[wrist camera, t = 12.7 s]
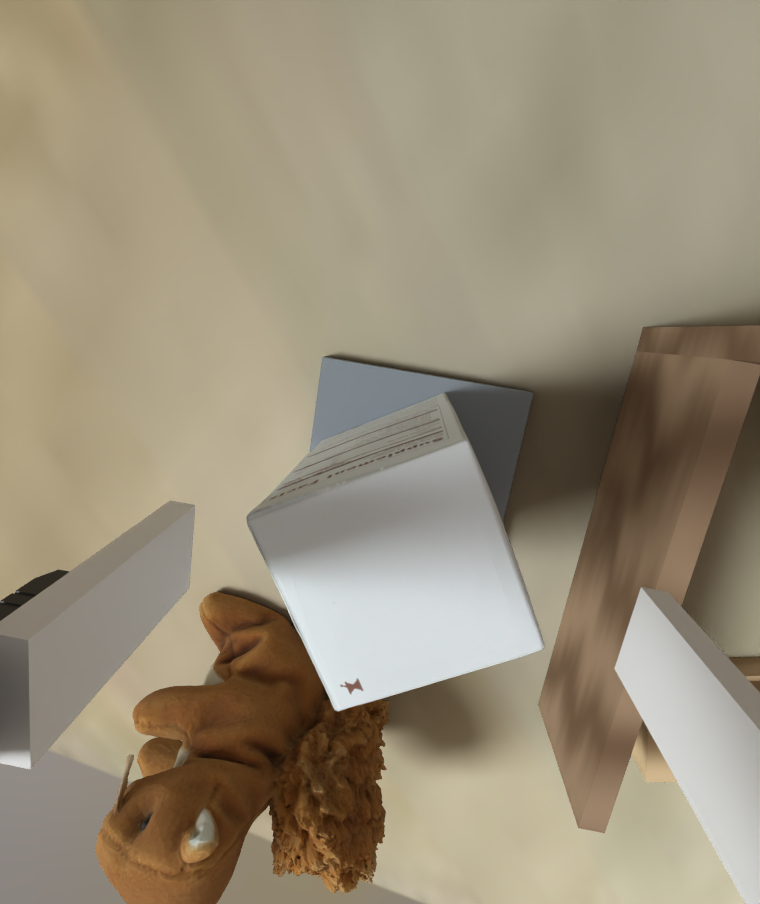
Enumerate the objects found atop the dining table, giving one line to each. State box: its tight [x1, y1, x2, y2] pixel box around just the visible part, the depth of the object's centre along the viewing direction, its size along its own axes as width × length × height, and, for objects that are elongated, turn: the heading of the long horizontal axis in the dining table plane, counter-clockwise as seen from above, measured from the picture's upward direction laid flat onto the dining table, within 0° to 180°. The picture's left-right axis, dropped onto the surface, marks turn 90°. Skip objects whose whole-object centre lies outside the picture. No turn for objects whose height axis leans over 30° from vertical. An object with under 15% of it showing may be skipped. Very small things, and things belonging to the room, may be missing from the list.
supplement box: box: [247, 393, 544, 711], centre depth 22 cm, size 7×7×13 cm
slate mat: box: [310, 357, 533, 522], centre depth 28 cm, size 11×11×1 cm
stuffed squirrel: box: [96, 592, 390, 904], centre depth 26 cm, size 10×14×13 cm
